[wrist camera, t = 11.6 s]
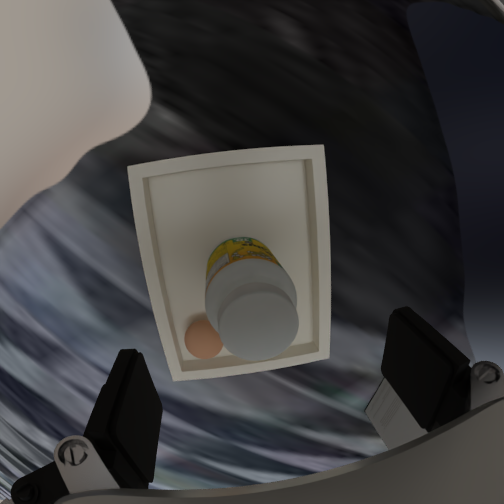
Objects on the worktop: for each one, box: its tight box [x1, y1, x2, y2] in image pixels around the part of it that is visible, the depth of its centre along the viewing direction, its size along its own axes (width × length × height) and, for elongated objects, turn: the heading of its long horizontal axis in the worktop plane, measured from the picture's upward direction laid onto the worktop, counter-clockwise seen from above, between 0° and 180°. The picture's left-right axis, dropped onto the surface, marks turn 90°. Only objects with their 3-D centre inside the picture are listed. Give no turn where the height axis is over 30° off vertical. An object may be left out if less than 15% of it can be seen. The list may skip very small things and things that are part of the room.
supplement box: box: [365, 378, 428, 450], centre depth 24 cm, size 9×9×15 cm
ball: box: [184, 320, 223, 359], centre depth 23 cm, size 3×3×3 cm
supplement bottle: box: [205, 236, 299, 361], centre depth 18 cm, size 5×5×10 cm
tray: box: [127, 145, 331, 381], centre depth 23 cm, size 18×14×2 cm
